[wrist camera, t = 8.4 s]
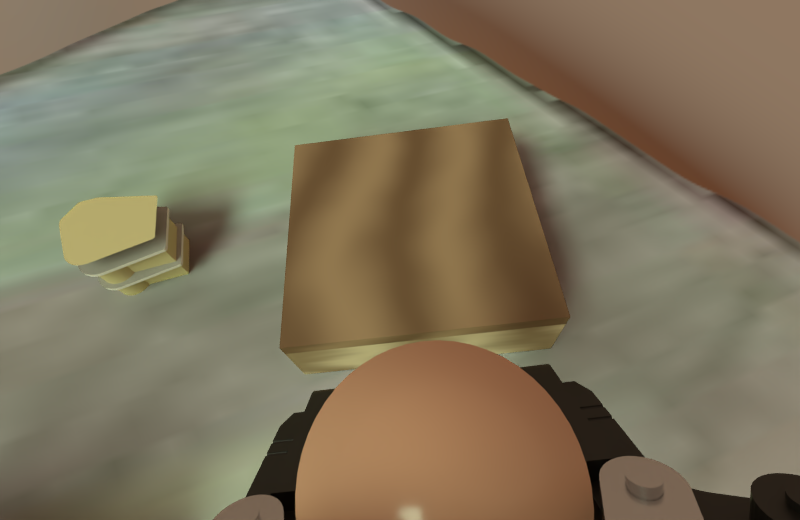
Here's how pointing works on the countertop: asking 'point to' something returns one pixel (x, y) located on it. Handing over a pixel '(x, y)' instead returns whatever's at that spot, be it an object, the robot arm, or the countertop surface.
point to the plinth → (415, 248)
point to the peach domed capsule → (441, 443)
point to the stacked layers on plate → (124, 242)
